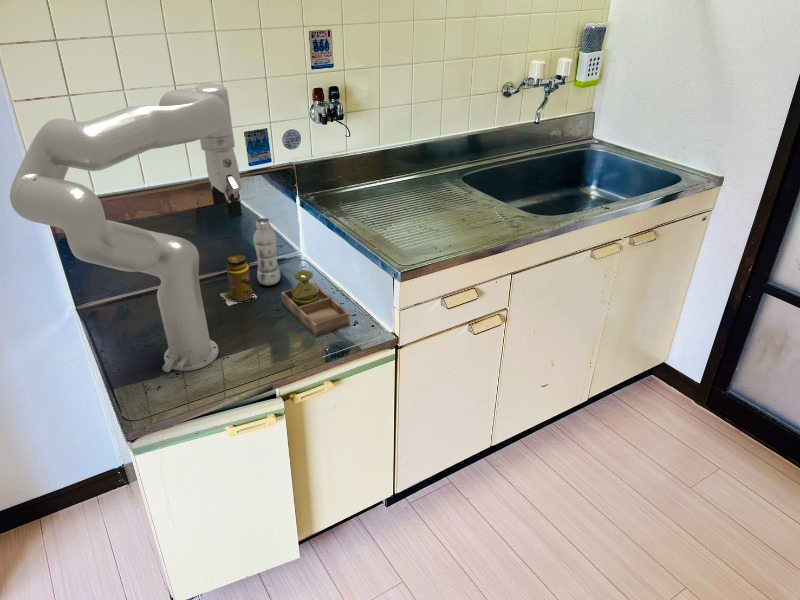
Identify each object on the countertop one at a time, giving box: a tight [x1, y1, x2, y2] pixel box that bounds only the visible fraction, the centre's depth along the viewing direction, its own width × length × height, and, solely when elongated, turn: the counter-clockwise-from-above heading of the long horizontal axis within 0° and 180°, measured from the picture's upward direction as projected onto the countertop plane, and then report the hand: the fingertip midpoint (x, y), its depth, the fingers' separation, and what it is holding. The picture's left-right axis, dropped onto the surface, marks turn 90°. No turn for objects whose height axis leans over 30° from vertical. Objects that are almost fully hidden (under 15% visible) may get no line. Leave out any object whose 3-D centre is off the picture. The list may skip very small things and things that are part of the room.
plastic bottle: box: [252, 217, 281, 287], centre depth 173 cm, size 6×7×20 cm
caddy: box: [280, 282, 351, 337], centre depth 163 cm, size 20×10×4 cm, turn 35°
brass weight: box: [290, 269, 319, 307], centre depth 164 cm, size 7×7×10 cm
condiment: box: [219, 254, 258, 307], centre depth 168 cm, size 7×8×12 cm
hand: (227, 210), depth 147 cm, fingers open, 9 cm apart
